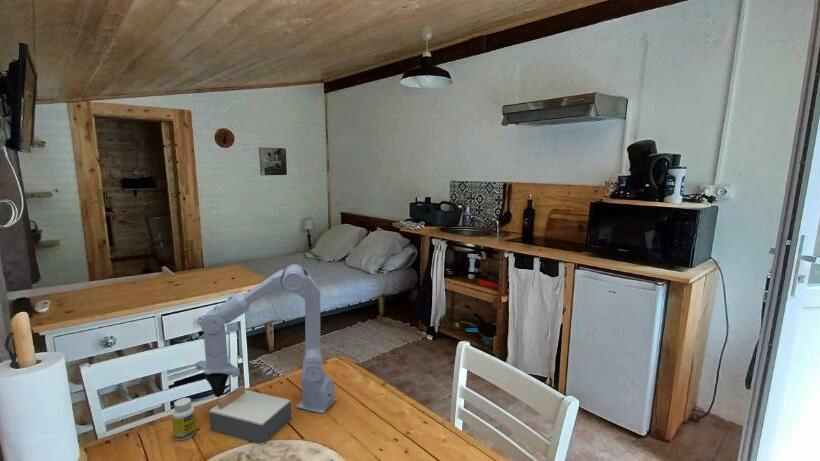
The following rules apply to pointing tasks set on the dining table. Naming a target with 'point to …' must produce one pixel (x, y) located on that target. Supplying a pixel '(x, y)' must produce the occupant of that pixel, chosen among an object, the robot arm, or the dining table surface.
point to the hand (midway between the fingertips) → (219, 395)
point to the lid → (249, 406)
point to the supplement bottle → (183, 419)
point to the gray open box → (251, 426)
